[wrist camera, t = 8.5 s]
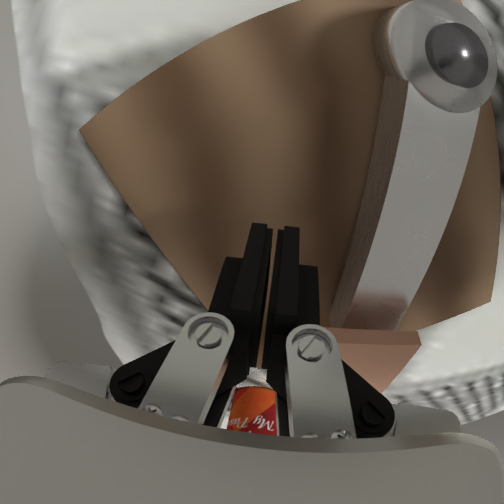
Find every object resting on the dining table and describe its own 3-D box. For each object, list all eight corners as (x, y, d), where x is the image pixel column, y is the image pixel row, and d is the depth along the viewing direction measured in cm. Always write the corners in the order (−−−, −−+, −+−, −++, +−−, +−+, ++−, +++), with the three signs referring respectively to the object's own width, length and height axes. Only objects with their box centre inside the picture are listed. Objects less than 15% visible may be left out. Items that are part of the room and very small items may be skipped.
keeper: (314, 261, 19) (321, 342, 14) (395, 270, 19) (421, 344, 14) (291, 344, 25) (289, 411, 20) (355, 348, 25) (363, 412, 20)
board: (438, -21, 7) (448, -24, 6) (485, 291, 19) (490, 301, 18) (89, 124, 15) (79, 129, 14) (259, 358, 27) (258, 369, 26)
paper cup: (267, 376, 29) (255, 504, 18) (301, 401, 32) (297, 508, 21) (212, 388, 32) (191, 497, 21) (249, 411, 36) (237, 506, 24)
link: (375, -8, 8) (406, -26, 5) (465, 26, 8) (511, 26, 5) (319, 315, 20) (322, 360, 17) (383, 318, 20) (393, 360, 17)
